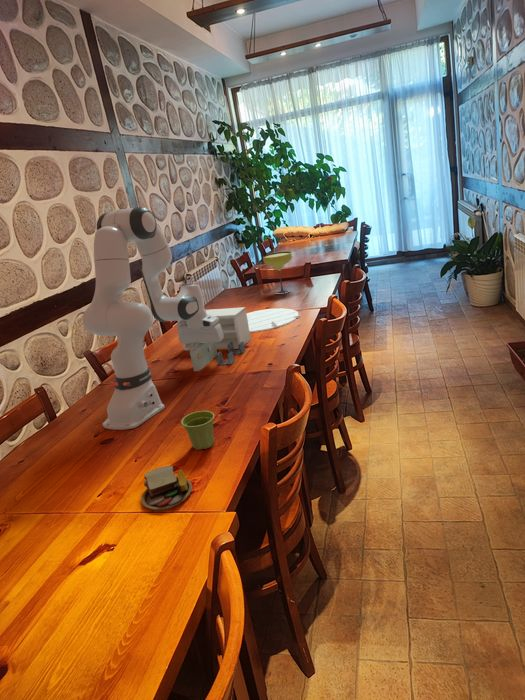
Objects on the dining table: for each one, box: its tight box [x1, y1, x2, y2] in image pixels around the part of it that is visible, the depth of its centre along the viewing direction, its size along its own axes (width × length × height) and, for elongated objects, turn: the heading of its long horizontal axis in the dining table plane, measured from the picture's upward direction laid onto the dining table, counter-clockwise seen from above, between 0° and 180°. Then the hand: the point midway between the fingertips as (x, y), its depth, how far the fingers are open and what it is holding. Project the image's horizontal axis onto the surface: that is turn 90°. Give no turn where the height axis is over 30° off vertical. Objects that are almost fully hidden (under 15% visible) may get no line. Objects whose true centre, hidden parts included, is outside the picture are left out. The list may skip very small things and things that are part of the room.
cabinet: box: [177, 306, 252, 351], centre depth 221 cm, size 12×30×16 cm, turn 69°
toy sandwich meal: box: [140, 465, 193, 511], centre depth 115 cm, size 12×14×5 cm
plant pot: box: [180, 410, 215, 451], centre depth 135 cm, size 9×9×9 cm
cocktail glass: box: [262, 251, 293, 293], centre depth 302 cm, size 18×18×25 cm
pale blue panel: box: [189, 342, 218, 372], centre depth 201 cm, size 18×4×9 cm, turn 159°
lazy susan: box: [246, 307, 301, 333], centre depth 251 cm, size 40×39×3 cm
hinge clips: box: [215, 342, 246, 366], centre depth 202 cm, size 16×6×4 cm, turn 159°
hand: (203, 351), depth 201 cm, fingers open, 5 cm apart
